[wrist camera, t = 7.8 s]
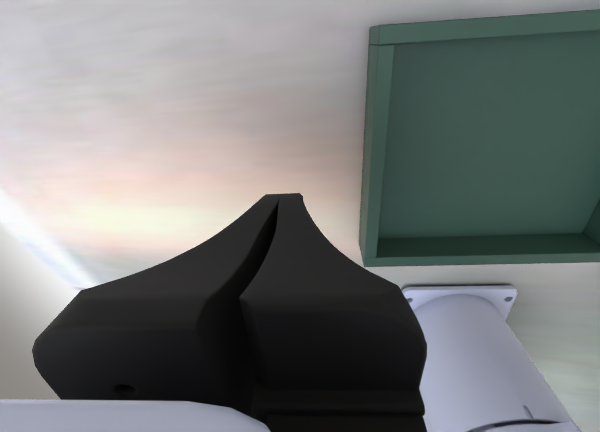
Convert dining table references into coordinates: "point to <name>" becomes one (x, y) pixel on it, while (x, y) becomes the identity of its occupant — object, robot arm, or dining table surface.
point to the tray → (482, 141)
